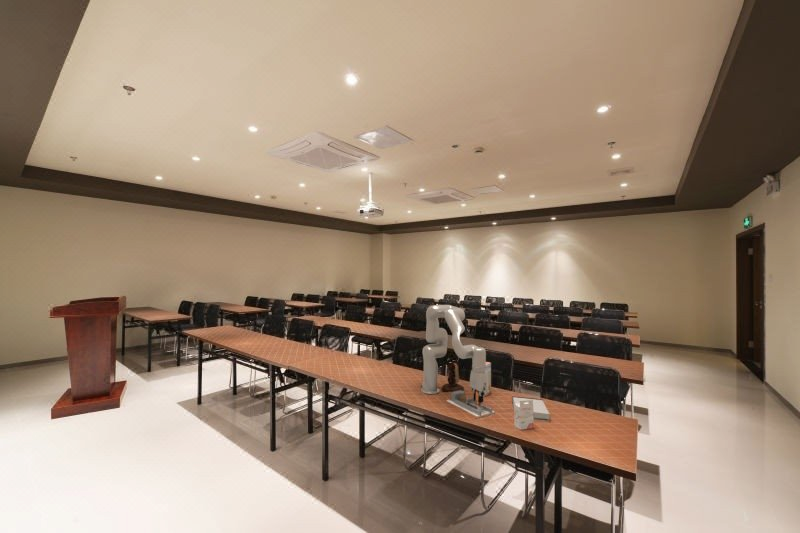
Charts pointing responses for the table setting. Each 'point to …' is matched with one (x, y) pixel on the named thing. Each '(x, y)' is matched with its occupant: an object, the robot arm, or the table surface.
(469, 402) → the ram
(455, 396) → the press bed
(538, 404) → the disc drive
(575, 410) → the table surface
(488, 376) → the cracker box
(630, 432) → the table surface
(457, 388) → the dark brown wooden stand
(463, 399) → the nut
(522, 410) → the ink cartridge box
